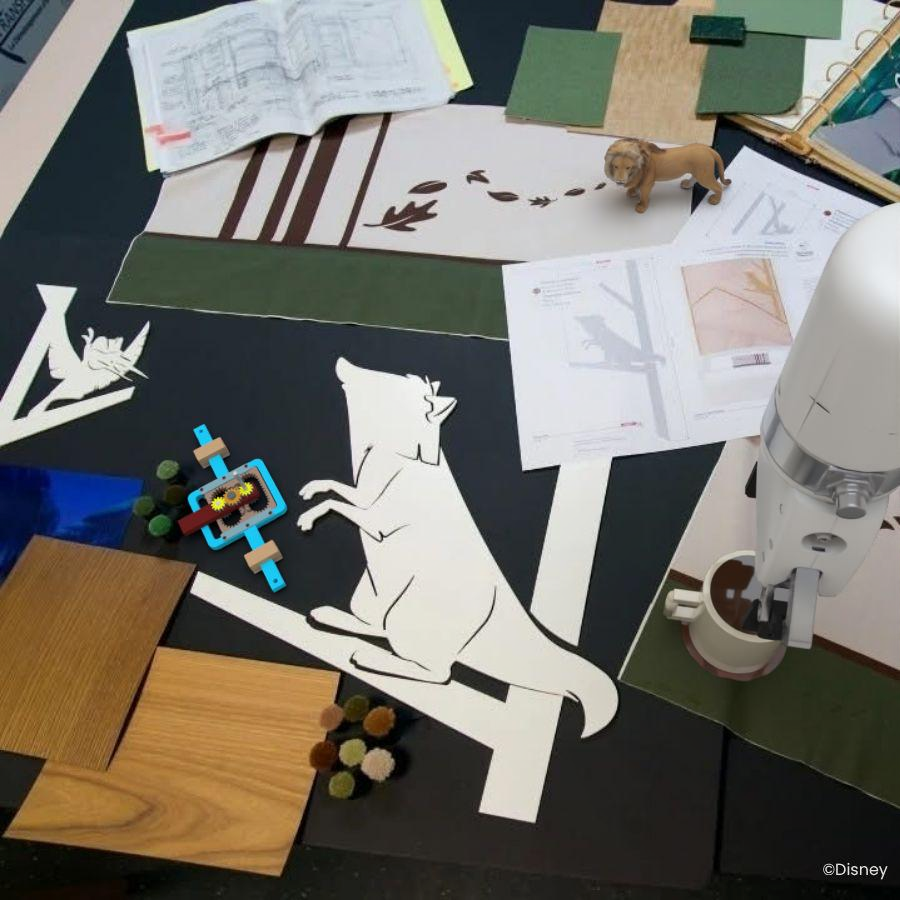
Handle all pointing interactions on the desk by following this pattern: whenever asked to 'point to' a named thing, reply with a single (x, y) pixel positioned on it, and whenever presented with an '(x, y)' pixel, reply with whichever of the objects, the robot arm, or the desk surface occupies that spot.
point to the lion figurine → (662, 167)
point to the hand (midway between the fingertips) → (766, 559)
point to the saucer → (723, 670)
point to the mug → (726, 614)
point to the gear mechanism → (235, 506)
